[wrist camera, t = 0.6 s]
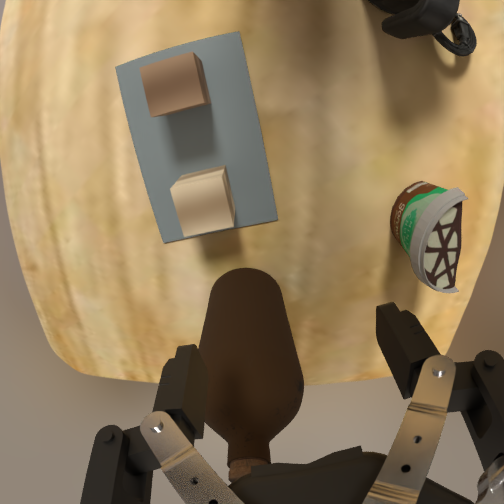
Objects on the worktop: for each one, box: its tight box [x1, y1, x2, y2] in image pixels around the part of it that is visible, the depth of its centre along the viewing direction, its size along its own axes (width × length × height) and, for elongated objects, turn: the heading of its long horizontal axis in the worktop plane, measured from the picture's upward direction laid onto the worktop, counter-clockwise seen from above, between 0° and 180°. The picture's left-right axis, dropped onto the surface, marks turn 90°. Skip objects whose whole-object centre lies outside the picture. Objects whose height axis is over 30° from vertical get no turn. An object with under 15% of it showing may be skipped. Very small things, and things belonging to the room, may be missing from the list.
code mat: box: [115, 31, 278, 243], centre depth 32 cm, size 22×14×1 cm, turn 11°
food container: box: [390, 181, 468, 293], centre depth 32 cm, size 12×6×10 cm, turn 12°
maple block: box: [170, 165, 235, 237], centre depth 32 cm, size 5×5×6 cm
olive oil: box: [198, 268, 304, 482], centre depth 30 cm, size 11×11×25 cm
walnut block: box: [139, 51, 211, 117], centre depth 27 cm, size 5×5×6 cm
